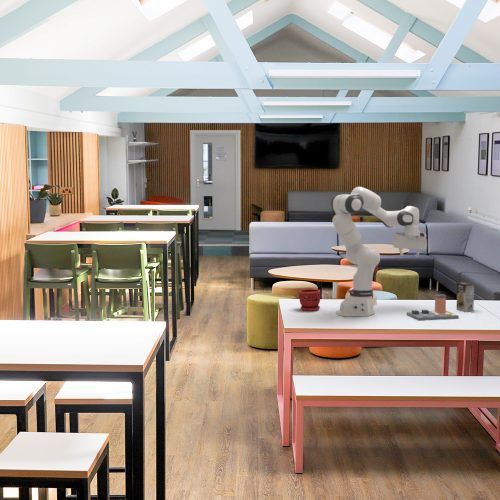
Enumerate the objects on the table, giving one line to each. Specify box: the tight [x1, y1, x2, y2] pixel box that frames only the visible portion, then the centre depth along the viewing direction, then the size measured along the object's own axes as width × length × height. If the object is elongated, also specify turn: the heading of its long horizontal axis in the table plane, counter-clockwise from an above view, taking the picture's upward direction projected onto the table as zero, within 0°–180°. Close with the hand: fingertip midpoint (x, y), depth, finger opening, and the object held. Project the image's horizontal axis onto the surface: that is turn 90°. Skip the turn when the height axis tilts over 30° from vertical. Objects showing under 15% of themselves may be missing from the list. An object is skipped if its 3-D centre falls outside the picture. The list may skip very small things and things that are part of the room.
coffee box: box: [456, 281, 475, 313], centre depth 460 cm, size 9×6×16 cm
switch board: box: [406, 309, 460, 322], centre depth 442 cm, size 24×17×3 cm
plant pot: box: [298, 288, 321, 312], centre depth 466 cm, size 13×13×12 cm
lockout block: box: [434, 293, 447, 313], centre depth 445 cm, size 5×5×10 cm
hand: (409, 256), depth 464 cm, fingers open, 8 cm apart
